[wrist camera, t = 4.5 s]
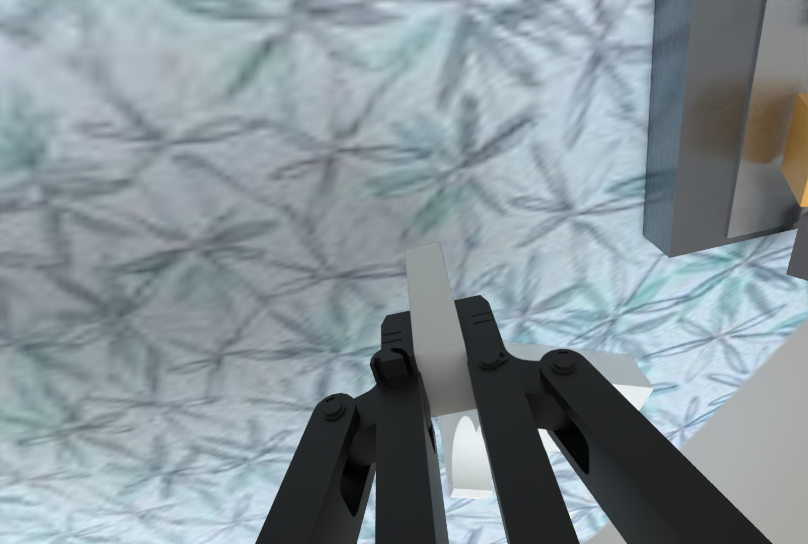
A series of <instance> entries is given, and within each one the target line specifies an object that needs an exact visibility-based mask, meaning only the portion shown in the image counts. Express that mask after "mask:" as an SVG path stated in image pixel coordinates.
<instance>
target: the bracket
mask: <svg viewBox="0 0 808 544" xmlns="http://www.w3.org/2000/svg"><path fill="white" fill-rule="evenodd" d="M503 343H504V346H505V348H506V350H507V351H508V352H509V353H510V354H511V355H513V356H515V357H516V358H520V359H523V360H531V361H540V359H541V358H542V356H543V355H544V354H546V353H547V352H549V351H551V350H556V349H570V350H573V351H576V352H578V353H580V354H581V355H582V356H584V357H585V358H586V359H587V360H588V361H589V362H590V363H591V364H592V365H593V366H594V367H595V368H596V369H597V370H598V371H599V372H600V373H601V374H602V375H603V376H604V377H605V378H606V379H607V380H608V381H609V382H610V383H611V384H612V385H613V386H614V387H615V388H616V389H617V390H618V391H619V392H620V393H621V394H622V395H623V396H624V397H625V398H626V399H627V400H628V401H629V402H630V403H631V404H632V405H633V406H634V407H635V408H636V409H637V410H638V411H639V410H640V409H641V407H642V406H643V404H644V402H645V401H646V399H647V398H648V396H649V395H650V393H651V392H652V390H653V389H654V387H653V386H652V385H651V383H650V382H649V380H648V379H647V378H646V376H645V375H644V374H643V372H642V371H641V369H640V368H639V367H638V365H637V364H636V363H635V361H634V360H633V358H632V357H631V356H630V355H628V354H619V353H610V352H601V351H592V350H582V349H573V348H564V347H555V346H546V345H536V344H527V343H518V342H509V341H503ZM438 422H439V428H440V435H441V441H442V448H443V454H444V461H445V467H446V473H447V480H448V486H449V493H450V497H451V498H469V499H488V500H490V498H491V496H492V493H493V491H494V490H493V485H492V478H491V470H490V465H489V461H488V457H487V452H486V448H485V444H484V439H483V437H482V432H481V427H480V422H479V417H478V412H477V409H473V410H468V411H463V412H458V413H452V414H447V415H442V416H438ZM538 431H539V434H540V437H541V439H542V442H543V445H544V448H545V450H546V451H556V452H561V451H560V450H559V448H558V447H557V446H556V444H555V443H554V441H553V440H552V439H551V437H550V436H549V434H548V433H547V431H546V430H545V429H538Z"/></svg>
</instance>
